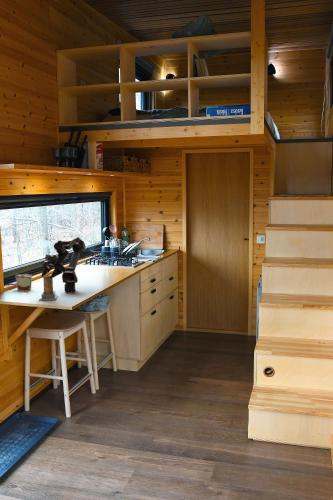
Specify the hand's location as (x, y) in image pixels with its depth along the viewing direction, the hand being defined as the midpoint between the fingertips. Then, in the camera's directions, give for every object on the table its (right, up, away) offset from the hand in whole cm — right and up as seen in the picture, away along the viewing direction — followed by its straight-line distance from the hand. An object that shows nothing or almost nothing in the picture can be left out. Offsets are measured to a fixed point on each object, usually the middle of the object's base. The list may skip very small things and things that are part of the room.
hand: (45, 277), depth 302 cm
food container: (-20, -10, +28) cm, 36 cm away
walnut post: (+1, -12, +3) cm, 12 cm away
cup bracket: (+1, -13, +3) cm, 14 cm away
